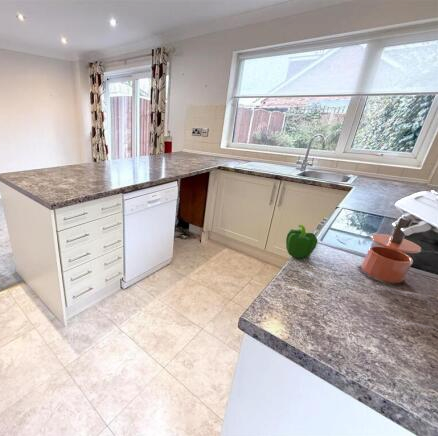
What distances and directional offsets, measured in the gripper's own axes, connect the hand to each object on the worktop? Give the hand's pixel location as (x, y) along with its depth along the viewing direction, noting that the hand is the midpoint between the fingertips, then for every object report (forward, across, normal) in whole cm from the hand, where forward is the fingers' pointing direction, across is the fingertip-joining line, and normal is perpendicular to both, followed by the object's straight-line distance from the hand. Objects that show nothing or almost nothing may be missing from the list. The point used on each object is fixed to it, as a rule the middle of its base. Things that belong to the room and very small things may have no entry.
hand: (398, 229), depth 67 cm
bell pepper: (+25, -4, -4) cm, 26 cm away
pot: (+10, 0, +11) cm, 14 cm away
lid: (+3, 0, +3) cm, 4 cm away
